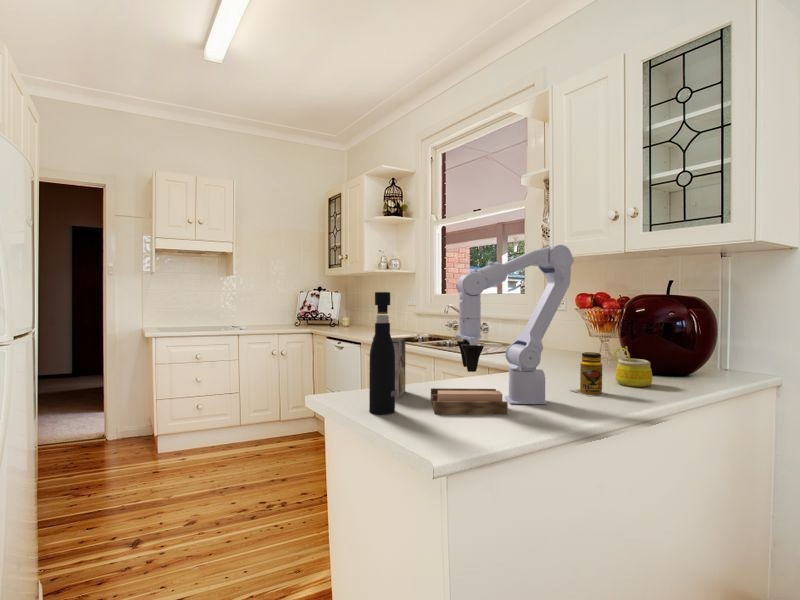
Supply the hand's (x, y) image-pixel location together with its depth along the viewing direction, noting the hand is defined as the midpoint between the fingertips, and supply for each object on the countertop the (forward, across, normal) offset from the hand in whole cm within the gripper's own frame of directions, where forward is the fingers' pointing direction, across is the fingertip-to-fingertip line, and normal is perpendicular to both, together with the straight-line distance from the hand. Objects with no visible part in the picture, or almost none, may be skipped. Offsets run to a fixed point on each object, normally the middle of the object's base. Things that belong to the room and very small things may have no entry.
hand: (469, 369), depth 130 cm
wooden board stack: (+9, +3, -1) cm, 10 cm away
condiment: (+10, -14, +38) cm, 42 cm away
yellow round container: (+10, -27, +58) cm, 64 cm away
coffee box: (+10, -12, -21) cm, 26 cm away
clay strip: (+8, +6, -1) cm, 10 cm away
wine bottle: (+9, +8, -23) cm, 26 cm away
